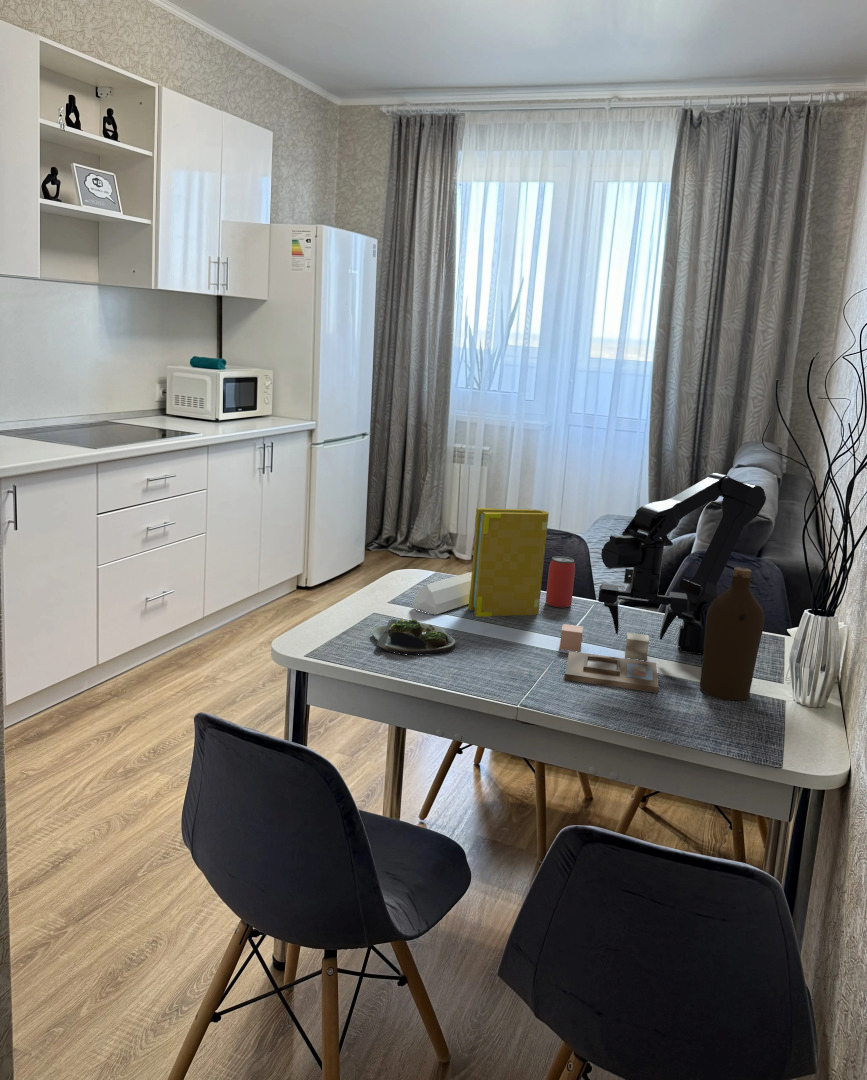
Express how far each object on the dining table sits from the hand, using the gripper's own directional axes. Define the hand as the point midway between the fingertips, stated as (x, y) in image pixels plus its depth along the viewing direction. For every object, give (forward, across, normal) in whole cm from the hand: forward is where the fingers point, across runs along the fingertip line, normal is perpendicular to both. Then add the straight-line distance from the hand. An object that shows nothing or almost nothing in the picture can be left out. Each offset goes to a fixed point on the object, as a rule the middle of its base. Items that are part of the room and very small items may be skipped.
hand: (638, 636), depth 191 cm
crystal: (+5, +45, -20) cm, 50 cm away
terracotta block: (+5, +14, 0) cm, 15 cm away
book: (+5, +31, -20) cm, 37 cm away
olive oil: (+5, -17, +14) cm, 23 cm away
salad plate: (+5, +47, +11) cm, 49 cm away
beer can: (+5, +19, -32) cm, 37 cm away
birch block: (+5, 0, 0) cm, 5 cm away
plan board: (+4, +5, +13) cm, 15 cm away
